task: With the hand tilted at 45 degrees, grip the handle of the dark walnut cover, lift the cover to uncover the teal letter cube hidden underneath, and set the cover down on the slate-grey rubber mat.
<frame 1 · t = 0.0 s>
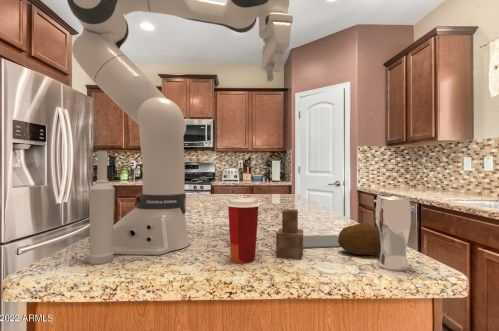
hand: (273, 76, 85), 48 cm above the counter, tool pointing down, fingers open, 8 cm apart
beer glass: (392, 267, 64), on the counter
paper cup: (242, 260, 68), on the counter
potato: (363, 254, 73), on the counter
grey mat: (319, 241, 85), on the counter
walnut cover: (290, 254, 72), on the counter
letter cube: (290, 255, 72), on the counter
bottle: (101, 261, 66), on the counter
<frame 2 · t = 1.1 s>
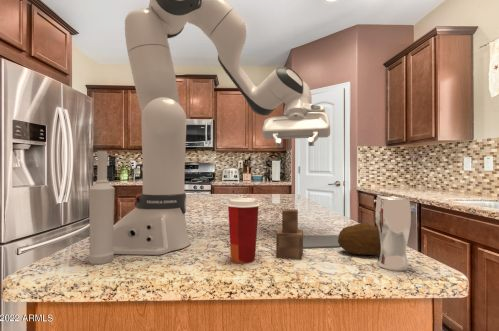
hand: (294, 144, 84), 28 cm above the counter, tool tilted 45°, fingers open, 8 cm apart
nothing on the counter moved.
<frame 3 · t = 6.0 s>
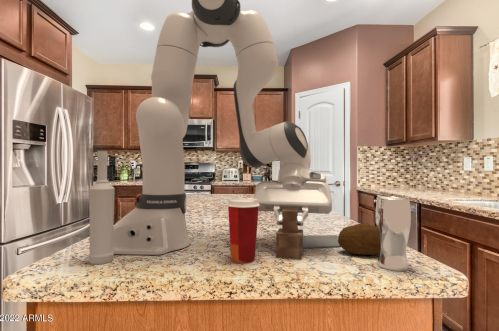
hand: (289, 224, 71), 8 cm above the counter, tool tilted 45°, fingers closed on walnut cover, 3 cm apart
walnut cover: (290, 254, 72), on the counter, touching gripper
everything else where it was.
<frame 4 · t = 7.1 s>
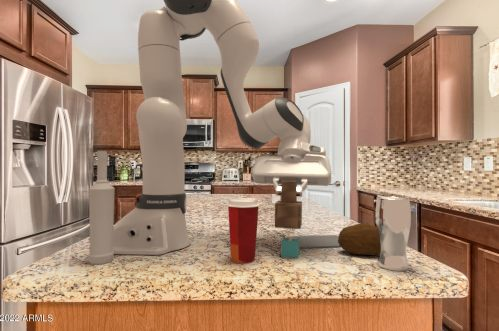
hand: (288, 194, 71), 15 cm above the counter, tool tilted 45°, fingers closed on walnut cover, 3 cm apart
walnut cover: (288, 225, 72), point 7 cm above the counter, touching gripper
everything else where it was.
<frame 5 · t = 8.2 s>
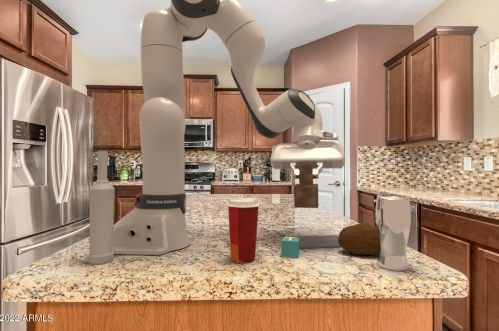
hand: (306, 177, 77), 19 cm above the counter, tool tilted 45°, fingers closed on walnut cover, 3 cm apart
walnut cover: (306, 206, 77), point 11 cm above the counter, touching gripper
everything else where it was.
when the fingers open (10 cm above the counter, at t = 10.9 s): walnut cover drops 1 cm, resting on grey mat.
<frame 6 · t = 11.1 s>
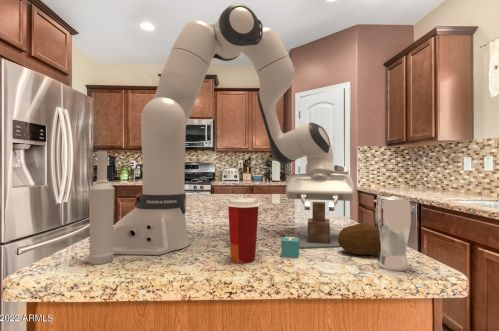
hand: (319, 209, 84), 10 cm above the counter, tool tilted 45°, fingers open, 5 cm apart
walnut cover: (318, 240, 85), resting on grey mat
everything else where it was.
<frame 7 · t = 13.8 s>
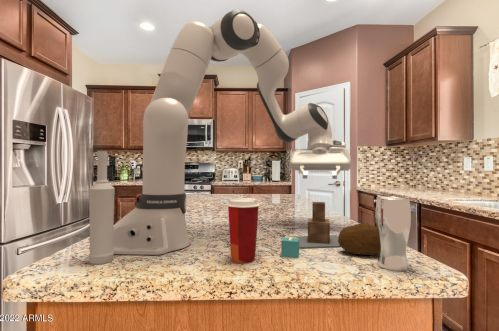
hand: (319, 177, 95), 18 cm above the counter, tool tilted 45°, fingers open, 8 cm apart
nothing on the counter moved.
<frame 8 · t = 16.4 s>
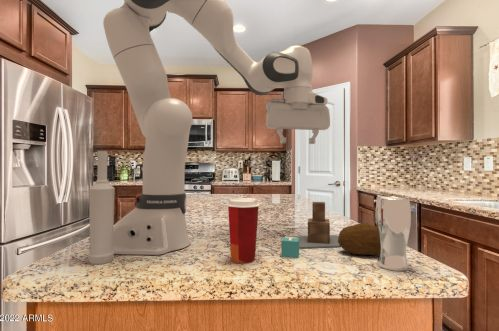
hand: (297, 143, 92), 29 cm above the counter, tool pointing down, fingers open, 8 cm apart
nothing on the counter moved.
at the end: walnut cover inside the target area (0.2 cm from its centre), resting on grey mat; walnut cover tilted 0°; the gripper is holding nothing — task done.
